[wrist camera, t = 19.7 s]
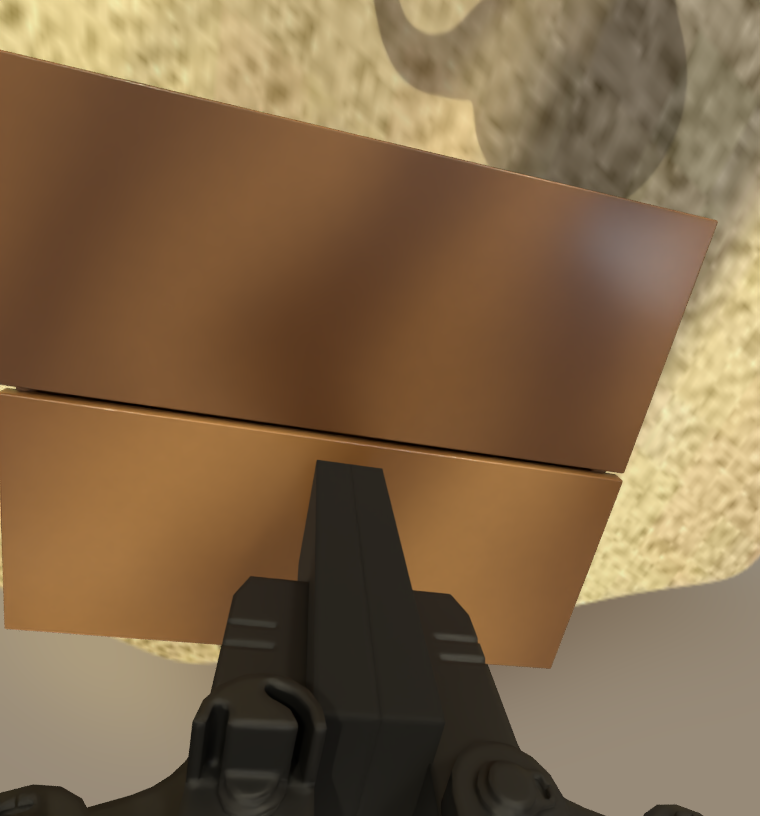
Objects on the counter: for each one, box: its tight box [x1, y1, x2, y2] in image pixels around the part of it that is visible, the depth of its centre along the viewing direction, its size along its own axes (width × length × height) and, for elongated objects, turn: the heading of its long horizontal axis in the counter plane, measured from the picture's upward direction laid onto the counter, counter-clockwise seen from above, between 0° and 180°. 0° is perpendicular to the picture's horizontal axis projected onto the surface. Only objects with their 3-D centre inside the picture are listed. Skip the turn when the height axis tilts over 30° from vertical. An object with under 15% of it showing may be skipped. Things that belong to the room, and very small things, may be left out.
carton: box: [0, 50, 718, 473], centre depth 18 cm, size 15×13×11 cm
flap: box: [0, 388, 622, 669], centre depth 14 cm, size 15×6×1 cm, turn 78°
